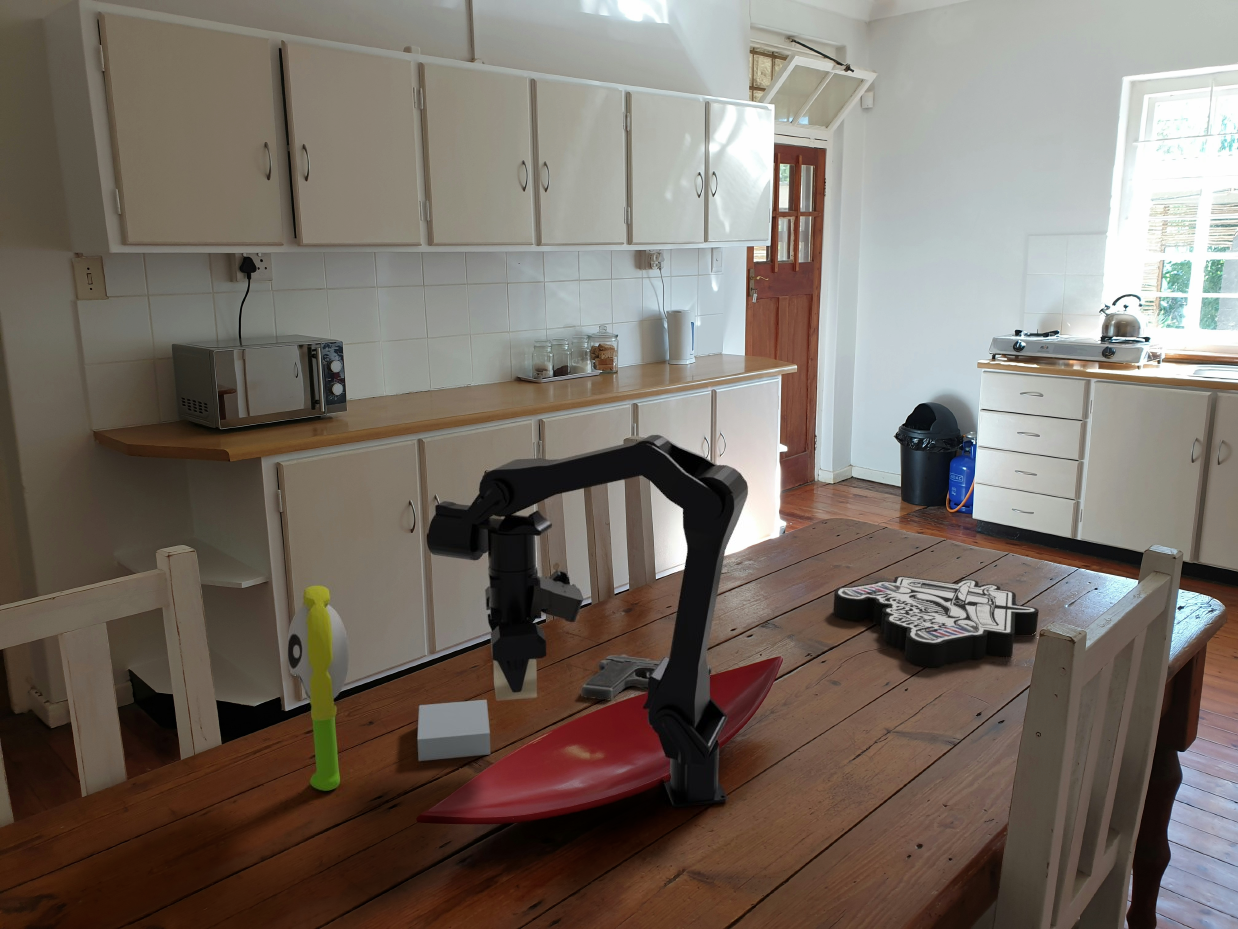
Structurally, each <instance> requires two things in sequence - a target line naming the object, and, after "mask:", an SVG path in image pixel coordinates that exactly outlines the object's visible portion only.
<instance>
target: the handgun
mask: <svg viewBox="0 0 1238 929" xmlns="http://www.w3.org/2000/svg"><path fill="white" fill-rule="evenodd" d="M660 662H661V661H657V660H651V659H650V658H641V657H635V656H634V657H633V656H627V654H621V655H612V654H611V655H609V656H606V657H605V659H604V660H600V661H599V662H598V667H597V669H598V672H597V673H596V674H594V675H593V676H591V677H589V679H588V680H587V681H585V683H584V684H583V685H582V686H581V689H580V693H581V694H580V696H581V697H582V696H586V697H585V698H587V697H595V698H601V699H600V700H604V699H605V700H606V699H610V700H609V701H613V699H614V698H615V697H616V696H618V695H619V694H620V693H621V692H622V691H623V690H624V689H626V688H628V687H632V686H638V687H639V686H640V687H646V688H648V680H649V676H650V675H651V674H652V672H653V671H654V670H655V668H656V667H657V666H658V664H659V663H660ZM707 667H708V671H709V675H710V674H711V675H712V667H711V665H708V664H707ZM599 670H600V672H599ZM640 677H645V678H640ZM619 692H620V693H619ZM614 696H615V697H614ZM613 697H614V698H613ZM595 698H594V699H595ZM612 698H613V699H612ZM605 700H604V701H605ZM606 701H607V700H606Z"/></svg>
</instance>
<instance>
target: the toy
mask: <svg viewBox="0 0 1238 929" xmlns="http://www.w3.org/2000/svg"><path fill="white" fill-rule="evenodd" d="M302 599H303V602H302V606H301V607H299V609H298V610H297V611H296V612H295V614H294V616H293V618H292V620H291V621H290V625H289V630H288V634H287V642H286V647H287V648H286V649H287V650H286V653H287V662H288V663H287V664H288V668H289V672H290V674H291V675H293V676H297V679H298V681H299V682H300V684H301V685H302V686H301V687H303V690H304V692H305V697H306V700H307V701H309V703H310V704H309V705H310V706H311V708H310V713H311V715H310V717H311V719H312V730H313V741H314V754H315V756H314V757H315V765H316V766H315V767H316V772H315V773H314V774H313V775H312V776H311V778H310V779H309V780H310V781H309V782H310V785H311V786H312V787H313V788H314V789H316V790H319V791H324V792H326V791H331V790H334V789H336V788H338V786H339V785H340V782H341V776H340V771H339V759H338V744H337V743H338V742H337V732H336V731H337V730H336V720H335V719H336V716H337V709H338V708H337V706H336V705H335V700H334V699H335V698H336V697H338V695H339V694H340V693H341V691H342V689H343V688H344V686H345V683H346V680H347V678H348V672H349V662H350V649H349V648H350V646H349V640H348V636H347V635H348V634H347V631H346V628H345V626H344V623H343V620H342V619H341V617H340V615H339V614H338V612H337V611H336V610H335V609H334V608H333V607H332V606H331V605H330V602H331V595H330V589H329V588H327V587H326V586H323V585H312V586H308V587H306V588H305V589H304V591H303V598H302Z"/></svg>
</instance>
